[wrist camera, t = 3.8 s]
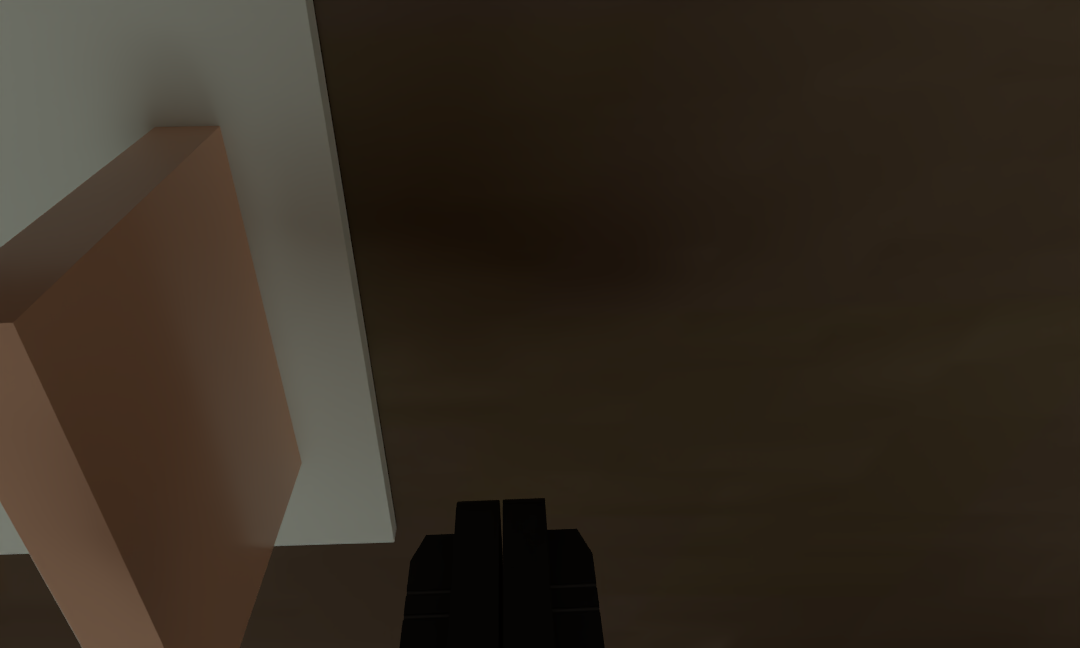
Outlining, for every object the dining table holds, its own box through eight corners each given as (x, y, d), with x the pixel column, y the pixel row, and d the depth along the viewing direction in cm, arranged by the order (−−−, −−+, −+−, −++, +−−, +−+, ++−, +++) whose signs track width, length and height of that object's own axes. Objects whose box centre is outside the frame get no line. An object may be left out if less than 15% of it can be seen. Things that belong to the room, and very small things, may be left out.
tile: (219, 125, 16) (12, 322, 9) (301, 463, 22) (207, 741, 15) (145, 127, 16) (-117, 326, 9) (246, 464, 21) (127, 744, 15)
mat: (303, -57, 15) (296, -54, 14) (396, 527, 24) (394, 542, 23) (-632, -49, 14) (-673, -46, 14) (-171, 545, 23) (-185, 560, 23)
